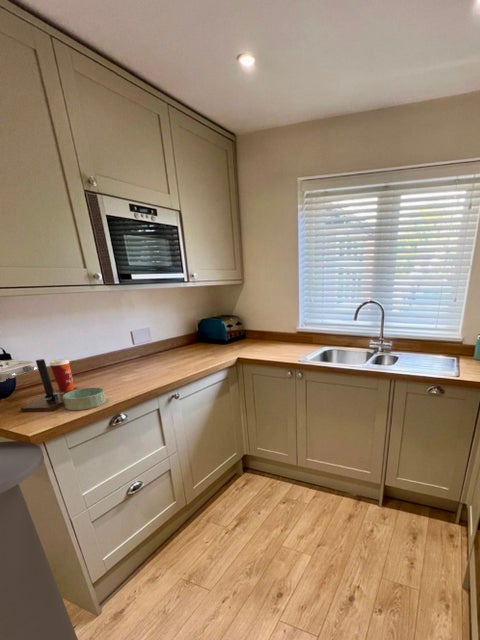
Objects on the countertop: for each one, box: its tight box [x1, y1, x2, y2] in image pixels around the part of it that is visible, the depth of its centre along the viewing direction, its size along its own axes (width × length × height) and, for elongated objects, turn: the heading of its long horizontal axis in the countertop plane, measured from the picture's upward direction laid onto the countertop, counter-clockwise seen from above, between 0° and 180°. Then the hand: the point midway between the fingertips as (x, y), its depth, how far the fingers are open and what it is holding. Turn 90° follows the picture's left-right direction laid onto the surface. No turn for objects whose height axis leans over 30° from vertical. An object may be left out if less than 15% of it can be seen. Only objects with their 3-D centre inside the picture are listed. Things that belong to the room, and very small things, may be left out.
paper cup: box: [48, 358, 75, 392], centre depth 152 cm, size 8×8×14 cm
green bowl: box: [62, 386, 107, 411], centre depth 136 cm, size 14×14×5 cm
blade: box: [35, 358, 64, 401], centre depth 135 cm, size 9×9×17 cm
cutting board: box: [20, 391, 70, 413], centre depth 139 cm, size 20×12×2 cm, turn 2°
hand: (25, 372), depth 135 cm, fingers open, 8 cm apart
